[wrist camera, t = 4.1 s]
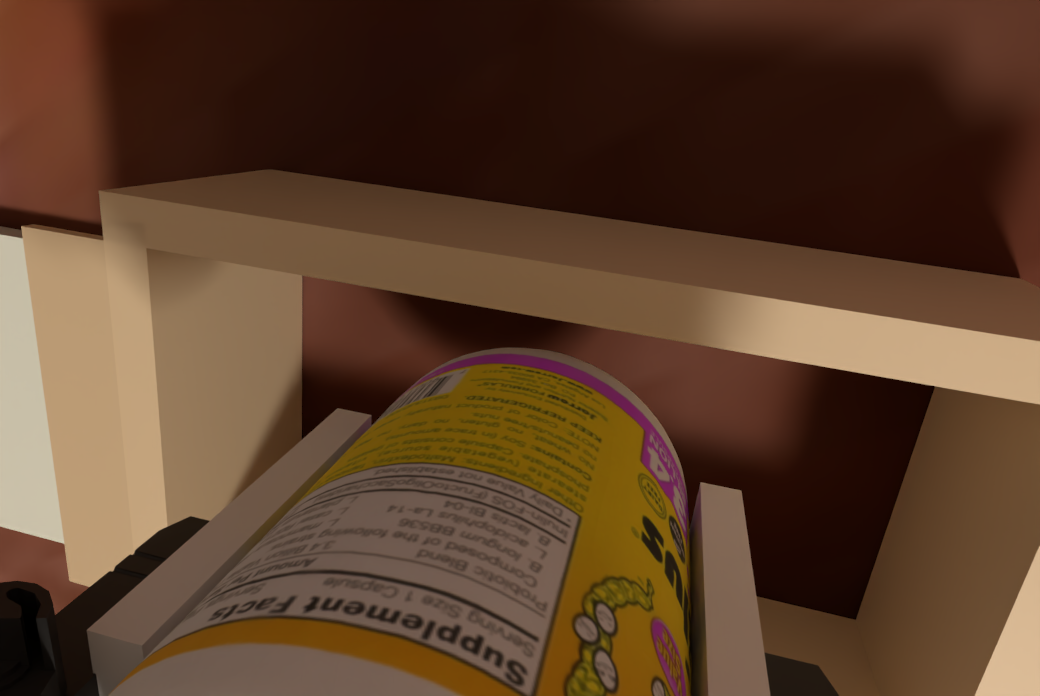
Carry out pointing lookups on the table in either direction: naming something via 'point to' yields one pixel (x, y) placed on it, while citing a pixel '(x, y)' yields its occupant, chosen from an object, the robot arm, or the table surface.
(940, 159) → the table surface
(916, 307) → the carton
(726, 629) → the robot arm
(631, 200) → the table surface
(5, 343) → the plate
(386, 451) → the supplement bottle
